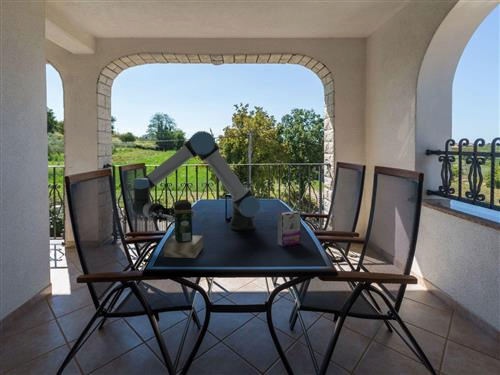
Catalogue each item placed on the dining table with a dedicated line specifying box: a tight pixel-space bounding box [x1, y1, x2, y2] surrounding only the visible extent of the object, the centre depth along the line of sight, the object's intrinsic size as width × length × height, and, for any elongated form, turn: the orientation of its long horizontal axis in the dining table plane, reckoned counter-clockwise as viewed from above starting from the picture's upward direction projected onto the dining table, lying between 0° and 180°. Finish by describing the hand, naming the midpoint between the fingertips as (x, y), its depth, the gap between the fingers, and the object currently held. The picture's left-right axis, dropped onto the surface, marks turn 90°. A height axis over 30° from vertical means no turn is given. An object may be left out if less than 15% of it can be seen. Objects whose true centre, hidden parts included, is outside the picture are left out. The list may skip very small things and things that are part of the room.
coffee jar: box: [173, 199, 193, 242], centre depth 141 cm, size 10×8×19 cm
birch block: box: [163, 234, 204, 259], centre depth 143 cm, size 14×14×6 cm
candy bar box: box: [277, 210, 302, 248], centre depth 155 cm, size 11×5×16 cm, turn 117°
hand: (184, 216), depth 141 cm, fingers open, 13 cm apart
